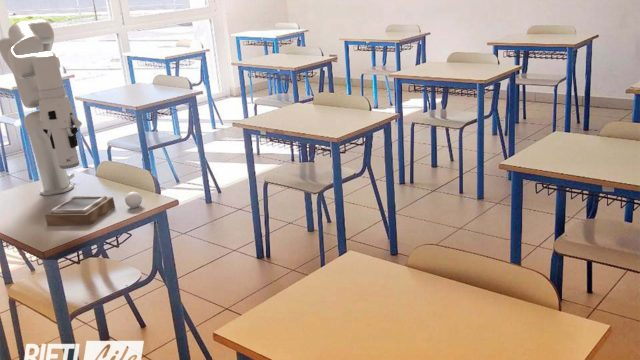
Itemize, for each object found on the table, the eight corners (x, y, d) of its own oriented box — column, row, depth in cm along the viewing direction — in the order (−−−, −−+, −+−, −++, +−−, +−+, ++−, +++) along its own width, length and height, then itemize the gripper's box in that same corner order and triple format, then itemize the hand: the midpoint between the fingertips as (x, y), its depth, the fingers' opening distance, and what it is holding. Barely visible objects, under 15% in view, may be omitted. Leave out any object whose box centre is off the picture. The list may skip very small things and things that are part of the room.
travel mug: (73, 168, 210) (60, 109, 203) (56, 169, 211) (41, 109, 205) (84, 162, 215) (71, 104, 209) (66, 163, 217) (53, 105, 210)
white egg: (145, 207, 221) (141, 192, 220) (128, 211, 219) (125, 196, 217) (140, 201, 228) (137, 186, 226) (124, 205, 226) (121, 190, 224)
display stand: (75, 207, 229) (72, 194, 227) (115, 207, 224) (112, 194, 223) (47, 225, 214) (43, 212, 212) (89, 225, 210) (86, 211, 208)
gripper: (22, 97, 204) (35, 151, 210) (68, 94, 200) (81, 149, 206) (37, 92, 211) (50, 144, 217) (82, 89, 207) (94, 143, 212)
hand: (65, 146), depth 211 cm, fingers closed on travel mug, 6 cm apart
